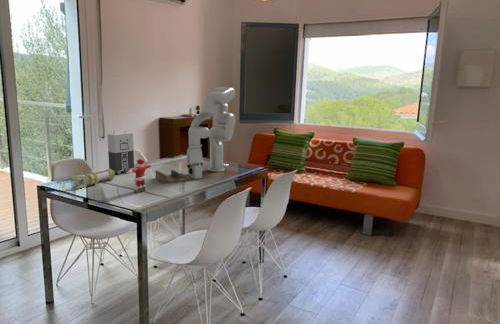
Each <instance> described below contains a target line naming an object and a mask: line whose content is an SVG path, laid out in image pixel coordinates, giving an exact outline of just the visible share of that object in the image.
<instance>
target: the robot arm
mask: <svg viewBox="0 0 500 324" xmlns="http://www.w3.org/2000/svg"><path fill="white" fill-rule="evenodd" d="M212 90H213V91H212V92H208V93H207V94H206V97H205V99H204V102H203V103H204V104H203V106H202V109H201V111H200V112H199V113H198V114H197V115H196V116H195V117H194V118H193V119H192V121H191V124H190V127H189V129H188V148H187V150H186V158H185V159H186V160H185V161H184V163H183V164H184V165H185V166H186V167H187V169H188V168H189V173H190V174H192V164H198V165H200V166H202V167H203V165H204V164H205V162H206V161H205V160H204V159H203V151H202V147H203V144H201V139H207V138H209V167H208V168H207V171H209V172H213V173H214V172H216V173H217V172H220V173H221V172H224V171H226V168H228V167H230V165H229V164H227V163H224V144H223V142H229V141H231V140H232V139H233V135H234V130H235V125H236V117H235V115H234V114H233V113H230V112H228V111H229V104H228V103H230V102H231V101H232V100H233V99H235V97H236V91H235V89H234V88H233V87H225V86H224V87H221V86H220V87H215V88H213V89H212ZM212 117H214V118H213V123H214V125H215V126H213V127H211V128H210V129H209V128H208V127H206V126H200V124H202V122H204V121H207V120H209V119H210V118H212ZM188 164H189V165H188Z"/></svg>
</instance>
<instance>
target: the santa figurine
mask: <svg viewBox="0 0 500 324" xmlns="http://www.w3.org/2000/svg"><path fill="white" fill-rule="evenodd" d="M144 163H145V164H144ZM147 163H148V162H146V161H145V160H144V159H141V158H140V159H139V158H138V159H137V160H136V163H135V166H134V168H131V169H130V170H129V171H128V172H127V171H125V174H133V173H134V174H135V177H134V179H133V182H135V185H136V187H137V188H136V189H134V190H133V193H135V194H141V193H142V192H145V191H146V183H145V182H146V181H145V180H147V175H145V172H146V169H149V168H152V167H153V166H155V164H151V163H150V164H147Z"/></svg>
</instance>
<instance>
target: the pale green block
mask: <svg viewBox="0 0 500 324" xmlns="http://www.w3.org/2000/svg"><path fill="white" fill-rule="evenodd" d="M187 164H188V165H189V163H187ZM187 176H188V177H190V178H191V179H192V178H193V179H194V180H197V179H203V165H202V166H200V165H198V164H192V174H190V173H189V168H188V167H187Z"/></svg>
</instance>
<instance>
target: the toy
mask: <svg viewBox="0 0 500 324" xmlns="http://www.w3.org/2000/svg"><path fill="white" fill-rule="evenodd" d="M134 149H135V148H134V133H133V132H128V130H127V129H125V130H124V132H117V133H116V131H115V130H113V132H112V133H107V150H108V152H107V155H108V169H112V170H113V172H114V174H117V175H120V174H121V172H122V171H123V172H128V171H129V170H131V169H134V168H135V156H134V155H135V154H134V153H135V151H134Z"/></svg>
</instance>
